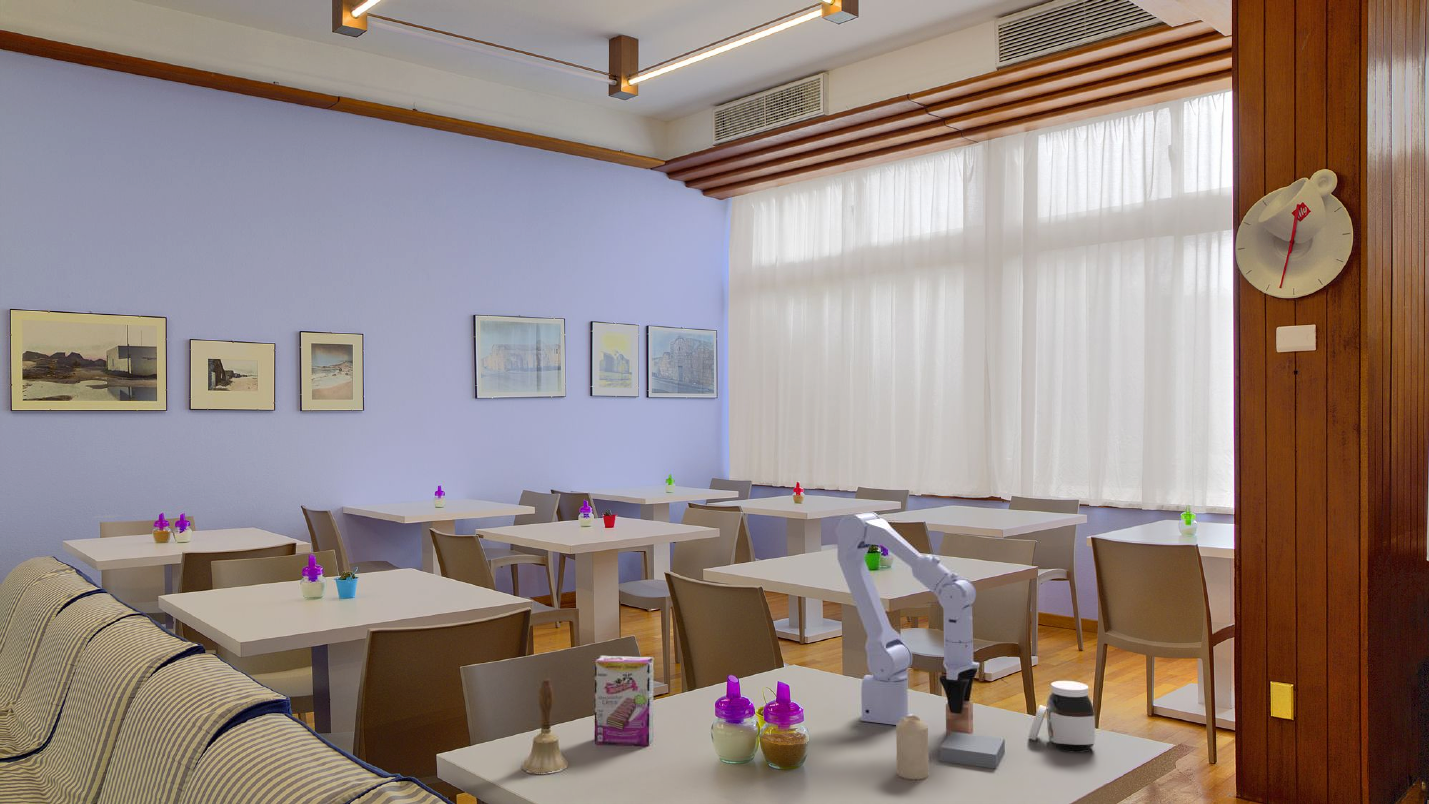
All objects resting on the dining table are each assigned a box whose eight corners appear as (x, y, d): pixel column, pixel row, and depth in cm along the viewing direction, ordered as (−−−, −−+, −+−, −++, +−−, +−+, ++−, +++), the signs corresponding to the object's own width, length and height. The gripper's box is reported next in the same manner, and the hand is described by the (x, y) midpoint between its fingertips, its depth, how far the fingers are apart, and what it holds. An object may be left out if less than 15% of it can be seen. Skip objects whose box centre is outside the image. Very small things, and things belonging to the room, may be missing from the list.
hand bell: (576, 762, 175) (576, 675, 176) (553, 777, 167) (554, 686, 168) (537, 757, 178) (537, 671, 178) (513, 771, 170) (513, 682, 171)
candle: (928, 781, 164) (928, 723, 165) (896, 778, 165) (896, 721, 166) (928, 770, 170) (927, 713, 170) (897, 768, 171) (896, 712, 171)
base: (940, 760, 174) (940, 747, 174) (951, 744, 183) (951, 731, 183) (996, 768, 170) (995, 754, 170) (1004, 751, 179) (1004, 738, 179)
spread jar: (1101, 754, 177) (1099, 692, 178) (1040, 755, 177) (1039, 692, 178) (1077, 734, 189) (1076, 676, 190) (1021, 734, 189) (1020, 676, 190)
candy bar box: (593, 745, 184) (593, 660, 185) (599, 737, 189) (599, 654, 190) (650, 746, 183) (649, 661, 184) (654, 738, 188) (654, 655, 189)
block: (946, 734, 189) (945, 704, 190) (950, 728, 194) (950, 699, 194) (968, 737, 188) (968, 707, 188) (973, 731, 192) (972, 701, 192)
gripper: (971, 649, 183) (973, 719, 182) (984, 634, 196) (986, 700, 195) (935, 646, 186) (936, 715, 185) (950, 632, 199) (951, 697, 198)
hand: (959, 707), depth 191 cm, fingers open, 7 cm apart
